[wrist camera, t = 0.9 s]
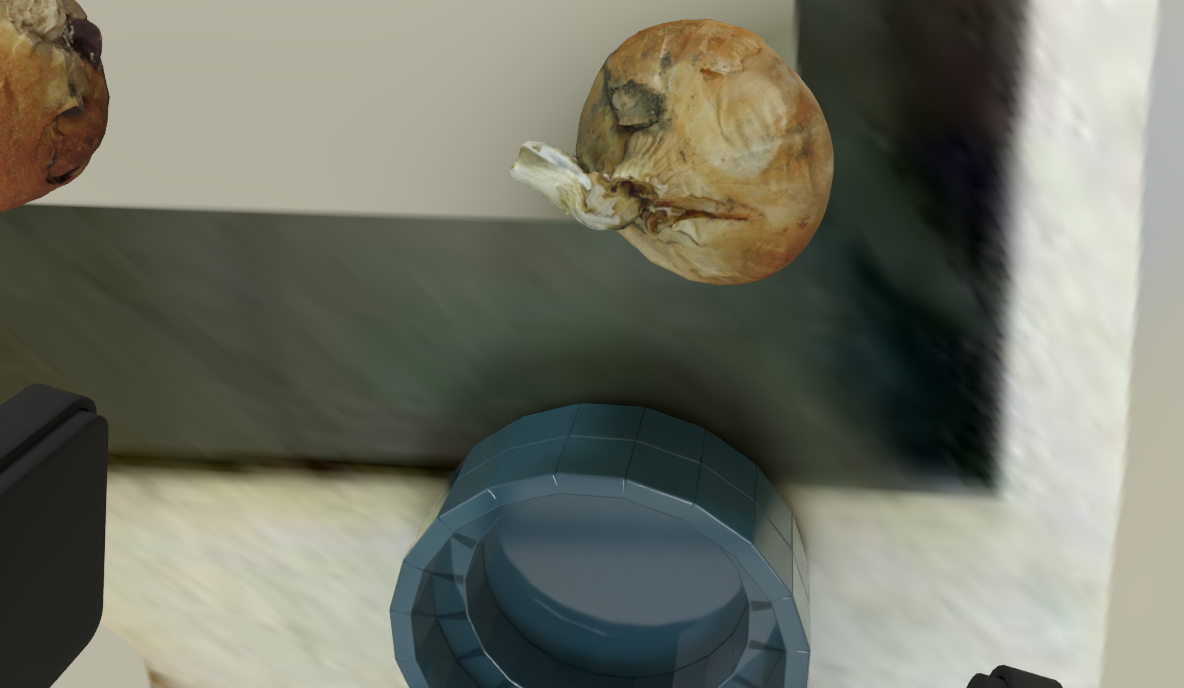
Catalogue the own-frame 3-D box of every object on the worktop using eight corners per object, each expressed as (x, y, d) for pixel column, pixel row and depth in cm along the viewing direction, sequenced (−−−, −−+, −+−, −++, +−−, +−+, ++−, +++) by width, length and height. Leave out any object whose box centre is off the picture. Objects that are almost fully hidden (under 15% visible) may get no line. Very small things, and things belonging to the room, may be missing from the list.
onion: (681, 291, 37) (655, 398, 30) (538, 101, 35) (474, 166, 28) (875, 168, 34) (899, 254, 27) (732, -47, 32) (715, -16, 25)
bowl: (820, 409, 38) (824, 493, 33) (794, 723, 44) (794, 834, 39) (422, 384, 40) (370, 459, 35) (450, 686, 46) (409, 786, 41)
